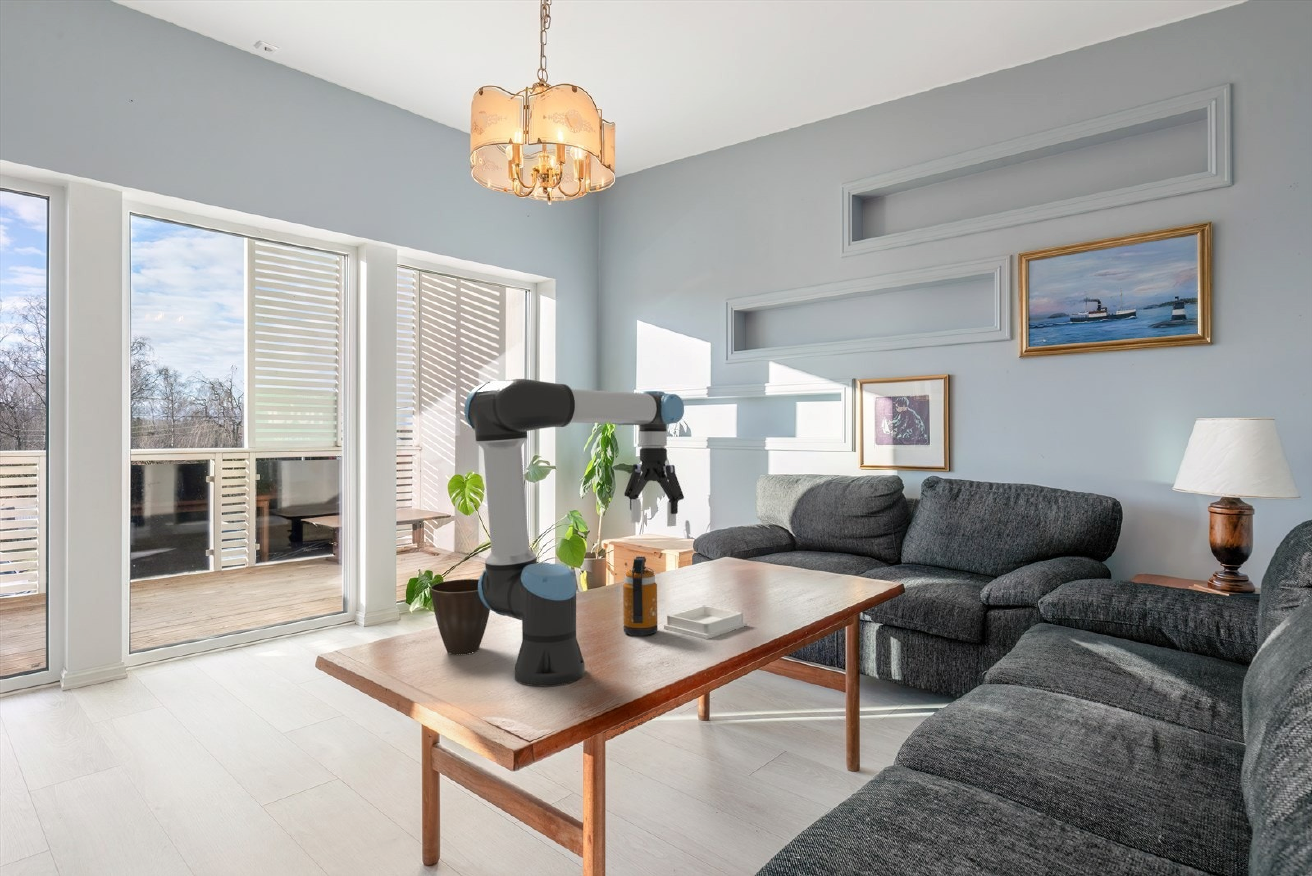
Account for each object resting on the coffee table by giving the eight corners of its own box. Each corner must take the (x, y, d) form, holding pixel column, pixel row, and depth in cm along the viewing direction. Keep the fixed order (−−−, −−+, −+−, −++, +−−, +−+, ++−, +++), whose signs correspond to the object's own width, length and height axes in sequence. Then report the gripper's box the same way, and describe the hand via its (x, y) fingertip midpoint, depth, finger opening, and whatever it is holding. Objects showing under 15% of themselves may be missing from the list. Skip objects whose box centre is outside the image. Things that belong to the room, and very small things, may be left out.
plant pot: (507, 647, 175) (506, 583, 175) (459, 664, 162) (458, 594, 162) (466, 638, 183) (465, 576, 183) (418, 653, 171) (417, 587, 171)
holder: (707, 639, 180) (706, 625, 180) (663, 628, 190) (663, 615, 190) (746, 625, 192) (746, 612, 192) (704, 616, 203) (703, 604, 203)
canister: (659, 628, 191) (658, 554, 191) (655, 640, 180) (654, 561, 180) (626, 627, 192) (625, 553, 192) (620, 639, 181) (619, 561, 181)
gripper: (696, 447, 191) (696, 526, 190) (630, 447, 207) (630, 519, 207) (678, 447, 185) (678, 528, 185) (612, 447, 202) (612, 521, 202)
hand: (653, 524), depth 196 cm, fingers open, 13 cm apart
